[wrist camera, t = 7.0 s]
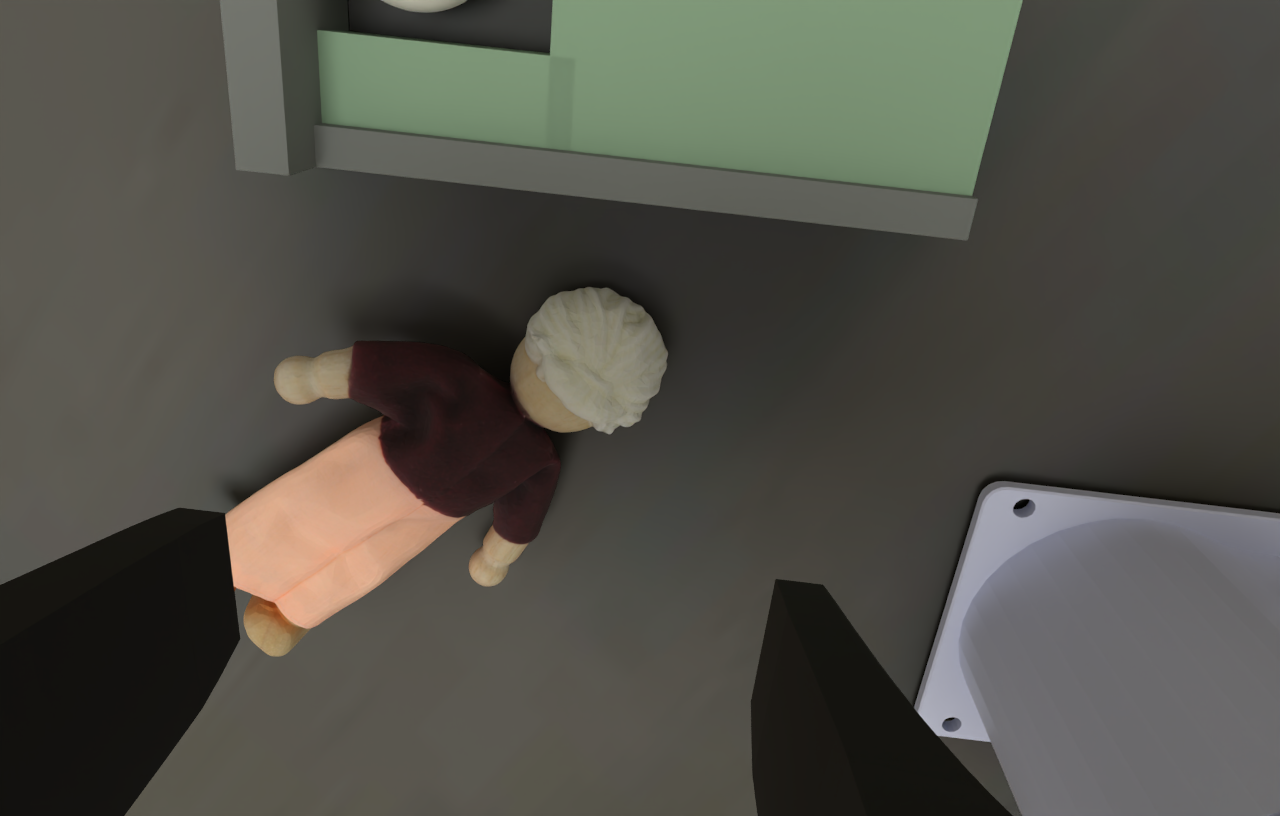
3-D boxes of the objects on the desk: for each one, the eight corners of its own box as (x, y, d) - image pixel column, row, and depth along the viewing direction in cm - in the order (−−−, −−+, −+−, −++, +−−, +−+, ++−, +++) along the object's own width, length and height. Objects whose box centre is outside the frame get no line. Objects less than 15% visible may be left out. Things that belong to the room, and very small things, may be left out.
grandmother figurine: (341, 575, 25) (705, 364, 22) (336, 693, 22) (749, 471, 19) (103, 445, 20) (540, 148, 17) (58, 579, 17) (569, 253, 14)
